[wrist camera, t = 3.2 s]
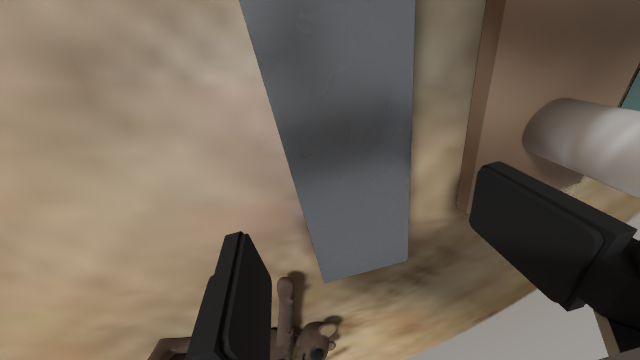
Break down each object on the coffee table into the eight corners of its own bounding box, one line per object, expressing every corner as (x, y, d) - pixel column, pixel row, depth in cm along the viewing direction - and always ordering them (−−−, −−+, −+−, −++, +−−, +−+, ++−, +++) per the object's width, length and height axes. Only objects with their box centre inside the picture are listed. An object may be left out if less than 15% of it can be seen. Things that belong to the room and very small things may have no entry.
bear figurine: (90, 322, 12) (363, 315, 13) (140, 256, 15) (350, 257, 17) (173, 430, 21) (330, 419, 22) (192, 372, 25) (326, 366, 26)
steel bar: (229, -68, 8) (192, -154, 4) (358, -94, 8) (421, -198, 4) (313, 229, 15) (324, 283, 12) (378, 212, 15) (407, 260, 12)
